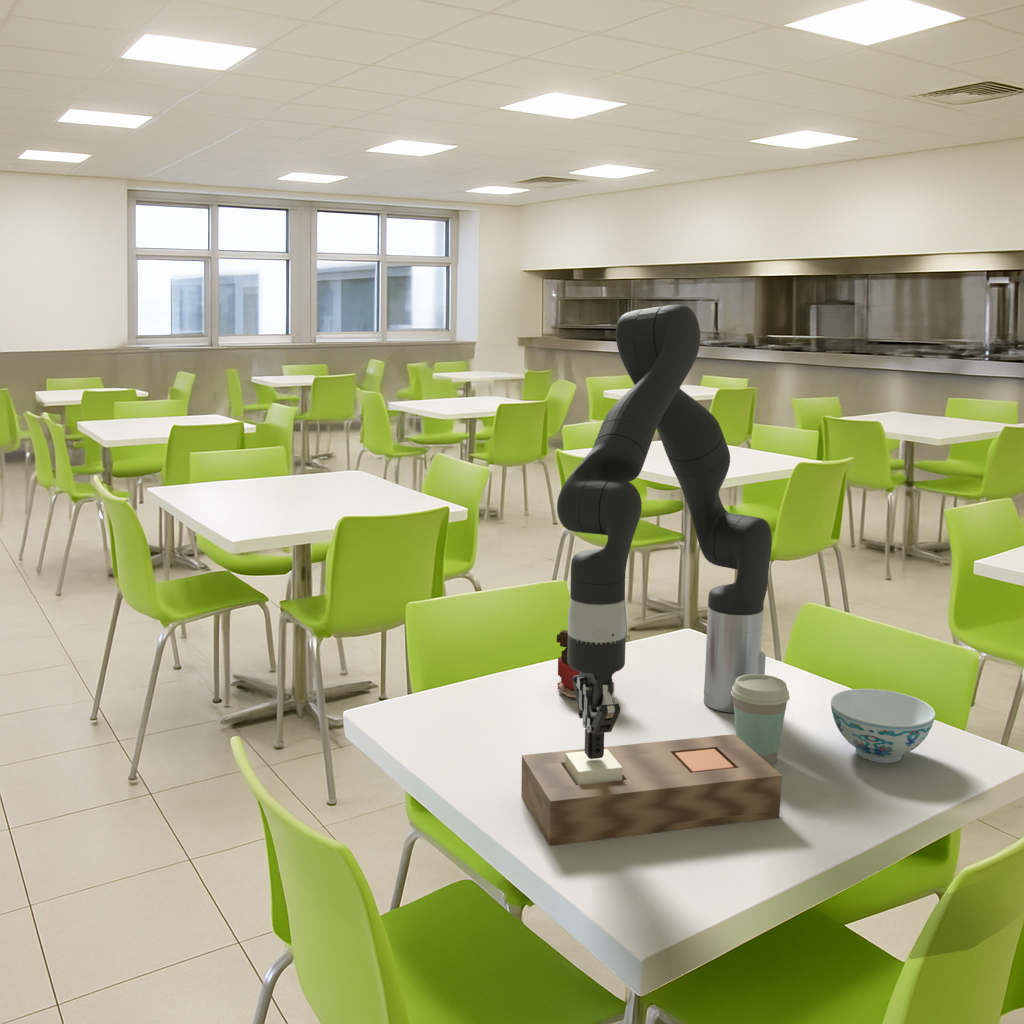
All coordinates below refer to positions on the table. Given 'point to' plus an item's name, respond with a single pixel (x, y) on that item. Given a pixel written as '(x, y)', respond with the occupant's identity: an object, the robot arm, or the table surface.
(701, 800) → the block
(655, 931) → the table surface
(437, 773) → the table surface
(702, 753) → the terracotta key
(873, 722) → the chinaware
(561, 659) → the cake
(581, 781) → the cream key
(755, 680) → the coffee cup
